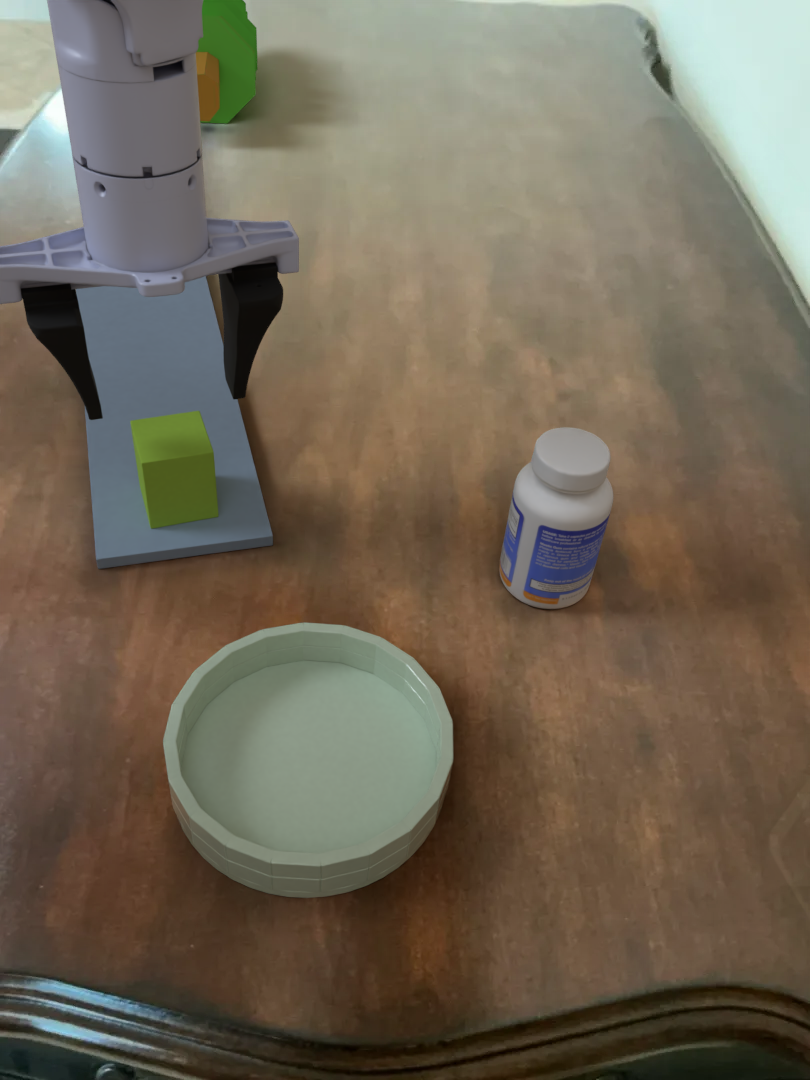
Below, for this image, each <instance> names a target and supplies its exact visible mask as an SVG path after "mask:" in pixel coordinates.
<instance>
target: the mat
mask: <svg viewBox="0 0 810 1080" xmlns="http://www.w3.org/2000/svg"><path fill="white" fill-rule="evenodd" d="M184 284H185V290H184V291H183V292H182V293H180V294H176V295H167V296H158V297H145V296H142V295H141V294H140V293H139V291H138V288H128V287H113V286H100V287H91V288H81V289H75V290H76V294H77V299H78V303H79V309H80V313H81V318H82V322H83V326H84V332H85V338H86V345H87V351H88V357H89V361H90V364H91V368H92V371H93V375H94V378H95V383H96V387H97V391H98V396H99V400H100V404H101V410H102V416H103V418H102V419H95V420H90V419H89V417H88V413H87V410H86V408H85V407H84V415H85V428H86V443H87V457H88V469H89V470H88V471H89V481H90V482H89V483H90V484H89V485H90V496H91V497H90V498H91V507H92V508H91V510H92V520H93V521H92V522H93V537H94V538H93V539H94V549H95V550H94V551H95V561H96V567H97V569H98V570H101V569H109V568H116V567H123V566H131V565H137V564H138V565H139V564H144V563H145V564H146V563H152V562H153V563H154V562H159V561H166V560H174V559H183V558H190V557H197V556H204V555H211V554H219V553H226V552H233V551H234V552H235V551H240V550H248V549H257V548H262V547H270V546H273V545H274V535H273V531H272V528H271V523H270V520H269V516H268V513H267V512H268V511H267V508H266V504H265V500H264V497H263V493H262V488H261V485H260V481H259V477H258V473H257V469H256V465H255V461H254V458H253V454H252V450H251V446H250V441H249V439H248V434H247V430H246V426H245V422H244V418H243V415H242V411H241V407H240V403H239V399H234V400H233V397H232V395H231V392H230V389H229V387H228V384H227V382H226V379H225V370H224V340H223V338H222V334H221V333H222V332H221V330H220V325H219V322H218V318H217V314H216V309H215V307H214V302H213V298H212V295H211V291H210V286H209V283H208V280H207V276H204V277H201V278H198V279H195V280H191V281H188V282H185V283H184ZM193 411H200V414H201V416H202V419H203V422H204V425H205V428H206V431H207V434H208V437H209V440H210V443H211V446H212V448H213V451H214V462H215V475H216V488H217V501H218V514H219V516H218V517H215V518H209V519H204V520H198V521H192V522H187V523H181V524H176V525H170V526H165V527H159V528H153V529H151V528H150V524H149V520H148V516H147V512H146V508H145V505H144V501H143V497H142V493H141V489H140V484H139V477H138V471H137V464H136V457H135V450H134V444H133V437H132V430H131V424H130V421H131V420H138V419H145V418H152V417H158V416H165V415H172V414H179V413H186V412H193Z"/></svg>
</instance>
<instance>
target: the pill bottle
mask: <svg viewBox="0 0 810 1080" xmlns="http://www.w3.org/2000/svg"><path fill="white" fill-rule="evenodd" d="M611 456H612V455H611V451H610V449H609V446H608V445H607V443H606V442H604V441H603V439H602V438H600V437H599V436H597V435H596V434H594V433H593V432H590V431H588V430H585V429H582V428H578V427H572V426H571V427H569V426H562V427H555V428H551V429H549V430H546V431H544V432H542V434H541V435H539V436H538V438H537V439H536V441H535V444H534V449H533V452H532V456H531V460H530V461H529V462H528V463H526V464H525V465H524V466H523V467H522V468H521V469H520V471H518V473H517V475H516V478H515V481H514V485H513V490H512V495H511V501H510V506H509V511H508V515H507V522H506V527H505V532H504V535H503V536H504V537H503V543H502V547H501V553H500V558H499V568H498V569H499V570H498V571H499V576H500V580H501V582H502V584H503V586H504V587H505V589H506V590H507V591H508V592H509V594H511V595H512V596H513V597H514V598H516V599H517V600H518V601H519V602H522V603H524V604H525V605H528V606H529V607H530V606H531V607H533V608H537V609H544V610H558V609H564V608H567V607H570V606H572V605H574V604H577V603H578V602H579V601H580V600H582V599H583V598H584V597H585V596H586V594H587V593H588V590H589V588H590V585H591V582H592V580H593V575H594V571H595V568H596V564H597V562H598V558H599V554H600V550H601V547H602V543H603V540H604V536H605V533H606V529H607V526H608V522H609V518H610V516H611V513H612V508H613V504H614V489H613V487H612V484H611V482H610V480H609V478H608V476H607V475H608V472H609V468H610V464H611V460H612V459H611Z"/></svg>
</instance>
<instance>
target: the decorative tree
mask: <svg viewBox="0 0 810 1080" xmlns="http://www.w3.org/2000/svg"><path fill="white" fill-rule="evenodd" d="M248 14H249V13H248V11H247V3H246V2H245V1H244V0H203V5H202V25H203V38H200V39H199V41H198V50H197V52H196V67H197V81H198V96H199V111H200V124H201V123H206V124H229V123H230V121H231V120H233V119H234V118H235V116H236V115H237V114H238V113H239V112H240V111H241V110H242V109H244V107H245V106H246V105H247V104H249V102H250V101H251V100H252V99H253V98H254V97H255V96H256V81H257V71H258V69H259V68H258V37H257V36H258V33H257V31H258V30H257V27H256V26H255V24H254V23H252V21H251V20H250V19H249V18H248Z"/></svg>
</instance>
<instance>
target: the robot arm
mask: <svg viewBox="0 0 810 1080" xmlns="http://www.w3.org/2000/svg"><path fill="white" fill-rule="evenodd" d="M46 2H47V8H48V15H49V21H50V28H51V34H52V40H53V46H54V52H55V59H56V63H57V64H56V65H57V69H58V75H59V82H60V88H61V94H62V100H63V106H64V113H65V118H66V124H67V131H68V136H69V137H68V138H69V144H70V149H71V150H70V151H71V157H72V163H73V164H72V165H73V169H74V176H75V181H76V188H77V193H78V194H77V195H78V201H79V206H80V213H81V219H82V225H83V226H81V227H80V226H79V227H77V228H72V229H69V230H66V231H62V232H58V233H54V234H50V235H45V236H43V237H39V238H35V239H31V240H26V241H22V242H18V243H12V244H5V245H0V305H5V304H7V305H8V304H14V303H19V302H21V301H22V302H23V308H24V313H25V318H26V323H27V325H28V327H29V329H30V331H31V332H32V334H33V336H34V337H35V338H36V340H37V341H39V342H40V343H41V344H42V345H43V346H44V348H46V349H47V351H48V352H49V354H51V355H52V356H53V357H54V358H55V360H56V361H57V362H58V363H59V365H60V366H61V368H62V369H63V370H64V372H65V373H66V374H67V376H68V377H69V379H70V381H71V383H72V384H73V385H74V387H75V389H76V391H77V393H78V395H79V397H80V398H81V401H82V403H83V405H84V409H85V408H86V410H87V413H88V417H89V419H90V420H95V419H102V418H103V416H102V410H101V404H100V400H99V396H98V391H97V387H96V383H95V378H94V375H93V371H92V368H91V364H90V361H89V357H88V351H87V345H86V338H85V332H84V326H83V322H82V318H81V313H80V309H79V303H78V299H77V294H76V289H81V288H91V287H100V286H113V287H128V288H138V291H139V293H140V294H141V295H142V296H145V297H158V296H167V295H176V294H180V293H182V292H183V291H184V290H185V284H184V283H185V282H188V281H191V280H195V279H198V278H201V277H204V276H206V277H208V276H214V275H215V276H216V275H218V277H217V278H218V282H219V283H218V284H219V285H218V286H219V291H220V292H219V293H220V301H221V310H222V322H223V345H224V370H225V379H226V382H227V384H228V387H229V389H230V392H231V395H232V397H233V400H234V399H238V400H240V399H245V398H246V396H247V390H248V384H249V383H248V382H249V379H250V375H251V370H252V367H253V364H254V361H255V359H256V355H257V353H258V350H259V348H260V345H261V343H262V341H263V339H264V337H265V335H266V333H267V331H268V330H269V328H270V326H271V325H272V323H273V321H274V320H275V318H276V317H277V316H278V314H280V312H281V311H282V307H283V302H284V287H283V284H282V283H281V281H280V278H279V274H280V275H286V274H295V273H299V272H300V237H299V235H298V234H297V232H296V230H295V228H294V227H293V224H292V223H291V222H290V220H271V221H269V220H265V221H264V220H263V221H261V220H258V221H257V220H245V219H231V218H218V217H207V205H206V189H205V177H204V176H205V172H204V159H203V158H204V157H203V142H202V141H203V140H202V128H201V123H200V111H199V96H198V81H197V67H196V52H197V50H198V41H199V39H200V38H203V25H202V5H203V0H46Z"/></svg>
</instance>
